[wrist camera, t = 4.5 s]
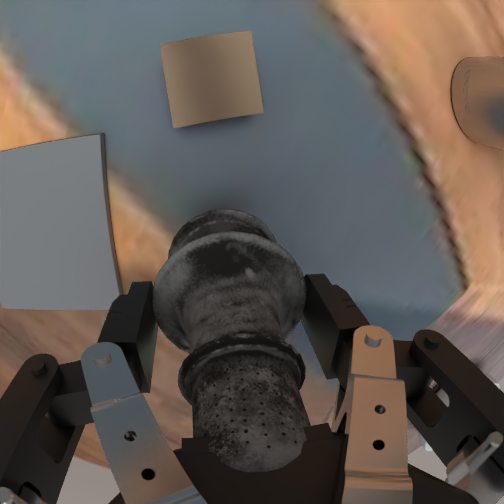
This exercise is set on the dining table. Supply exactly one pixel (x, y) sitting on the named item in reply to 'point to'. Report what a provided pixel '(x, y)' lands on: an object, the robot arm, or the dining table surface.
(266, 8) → the dining table surface
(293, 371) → the salt shaker
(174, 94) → the walnut block
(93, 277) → the serving board
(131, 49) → the dining table surface
